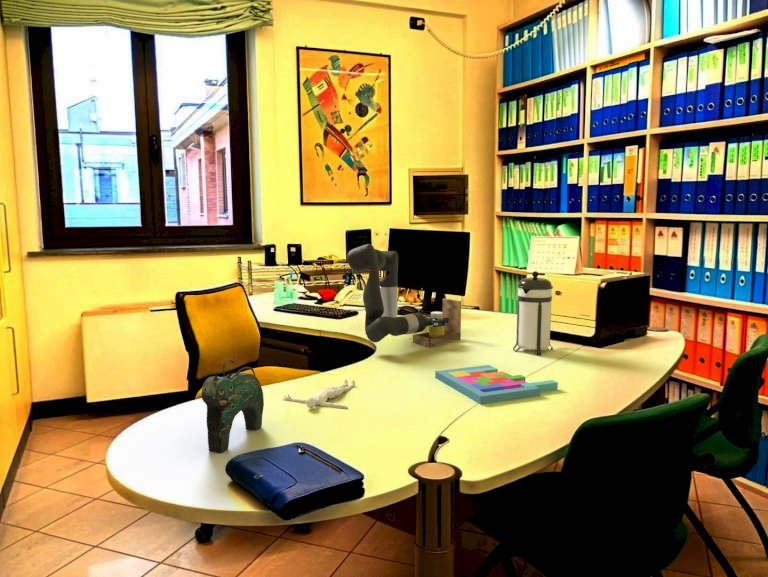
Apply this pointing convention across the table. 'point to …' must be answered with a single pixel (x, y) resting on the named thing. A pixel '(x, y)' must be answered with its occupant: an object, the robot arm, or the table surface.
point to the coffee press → (534, 314)
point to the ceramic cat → (231, 405)
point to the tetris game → (492, 384)
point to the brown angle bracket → (450, 329)
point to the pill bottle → (437, 330)
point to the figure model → (325, 396)
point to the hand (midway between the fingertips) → (440, 318)
